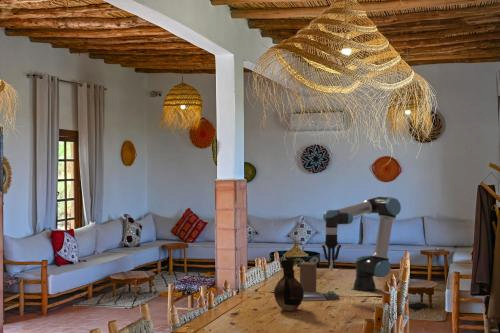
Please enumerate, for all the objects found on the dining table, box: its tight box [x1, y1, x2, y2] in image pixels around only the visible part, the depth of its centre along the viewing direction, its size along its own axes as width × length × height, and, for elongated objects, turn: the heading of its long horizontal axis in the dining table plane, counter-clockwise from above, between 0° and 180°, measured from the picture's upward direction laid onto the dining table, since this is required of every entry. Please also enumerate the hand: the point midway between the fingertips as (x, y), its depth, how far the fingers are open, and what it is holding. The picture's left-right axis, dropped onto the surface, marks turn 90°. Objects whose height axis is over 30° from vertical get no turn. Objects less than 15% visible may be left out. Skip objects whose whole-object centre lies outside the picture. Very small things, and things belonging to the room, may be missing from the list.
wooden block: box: [299, 261, 318, 292], centre depth 461 cm, size 10×10×20 cm
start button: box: [327, 290, 335, 295], centre depth 444 cm, size 4×4×2 cm
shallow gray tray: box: [302, 291, 327, 302], centre depth 444 cm, size 16×14×2 cm
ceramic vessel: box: [273, 258, 304, 312], centre depth 408 cm, size 21×18×30 cm
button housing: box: [322, 292, 340, 300], centre depth 444 cm, size 8×8×2 cm
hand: (331, 270), depth 444 cm, fingers closed
